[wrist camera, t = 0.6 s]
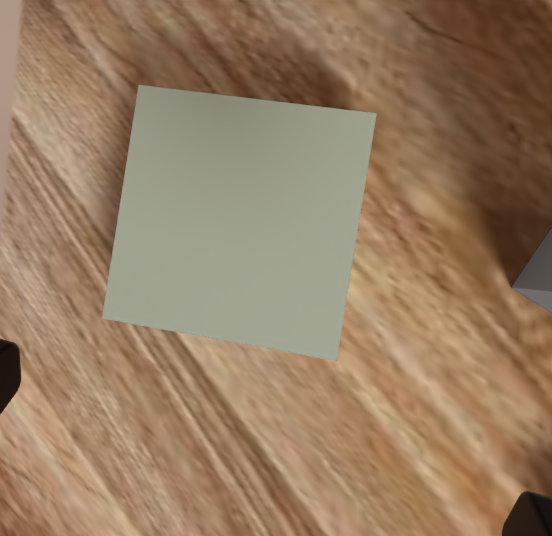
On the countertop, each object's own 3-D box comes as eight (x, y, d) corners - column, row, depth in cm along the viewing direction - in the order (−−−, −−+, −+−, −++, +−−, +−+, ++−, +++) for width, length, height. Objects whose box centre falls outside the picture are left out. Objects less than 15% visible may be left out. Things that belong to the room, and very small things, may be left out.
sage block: (336, 344, 22) (336, 360, 18) (142, 310, 23) (102, 318, 19) (368, 142, 22) (376, 113, 18) (172, 117, 23) (138, 84, 19)
